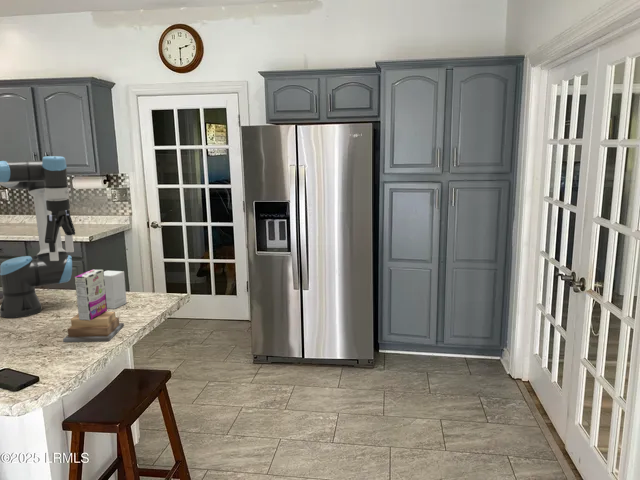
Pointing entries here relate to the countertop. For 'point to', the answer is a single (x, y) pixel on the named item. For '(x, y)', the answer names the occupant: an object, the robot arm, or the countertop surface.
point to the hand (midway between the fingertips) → (62, 256)
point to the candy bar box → (90, 294)
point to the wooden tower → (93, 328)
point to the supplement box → (115, 288)
